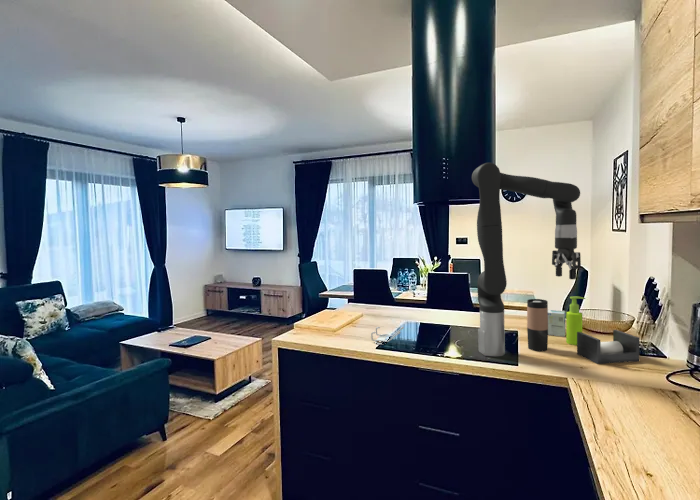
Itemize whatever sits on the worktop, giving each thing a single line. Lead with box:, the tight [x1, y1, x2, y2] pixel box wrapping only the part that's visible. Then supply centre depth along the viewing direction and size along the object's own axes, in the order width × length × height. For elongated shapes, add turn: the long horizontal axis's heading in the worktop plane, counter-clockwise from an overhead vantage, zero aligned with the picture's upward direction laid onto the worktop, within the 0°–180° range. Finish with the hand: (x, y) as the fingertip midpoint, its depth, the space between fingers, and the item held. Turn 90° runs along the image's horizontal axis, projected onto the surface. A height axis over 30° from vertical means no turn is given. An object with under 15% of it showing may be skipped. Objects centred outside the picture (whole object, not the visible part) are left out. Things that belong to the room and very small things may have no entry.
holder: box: [576, 329, 640, 365], centre depth 142 cm, size 16×11×9 cm
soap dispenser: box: [565, 295, 586, 346], centre depth 159 cm, size 6×7×20 cm
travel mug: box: [526, 298, 549, 352], centre depth 154 cm, size 8×8×20 cm
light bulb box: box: [548, 309, 566, 338], centre depth 175 cm, size 11×7×11 cm, turn 58°
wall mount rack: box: [370, 326, 405, 345], centre depth 174 cm, size 16×14×6 cm
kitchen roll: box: [600, 340, 623, 354], centre depth 142 cm, size 11×5×5 cm
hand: (565, 277), depth 148 cm, fingers open, 8 cm apart
